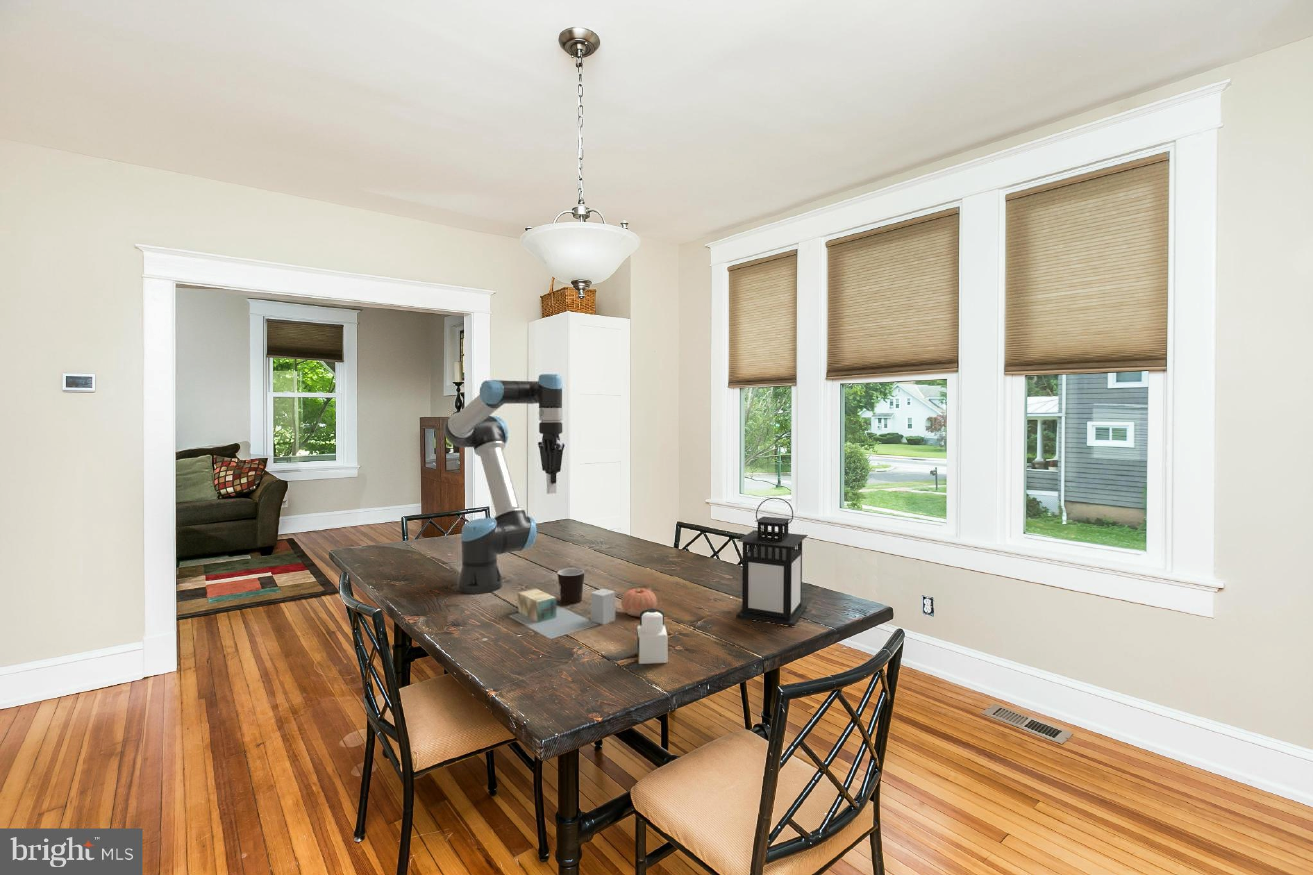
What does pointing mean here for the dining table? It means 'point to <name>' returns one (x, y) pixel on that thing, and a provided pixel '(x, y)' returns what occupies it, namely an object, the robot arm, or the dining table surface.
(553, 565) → the dining table surface
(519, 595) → the birch block
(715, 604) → the dining table surface
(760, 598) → the lantern
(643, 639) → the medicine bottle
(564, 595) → the coffee mug
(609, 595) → the grey painted block
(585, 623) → the slate mat
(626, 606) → the orange ribbed round piece
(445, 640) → the dining table surface
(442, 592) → the dining table surface
